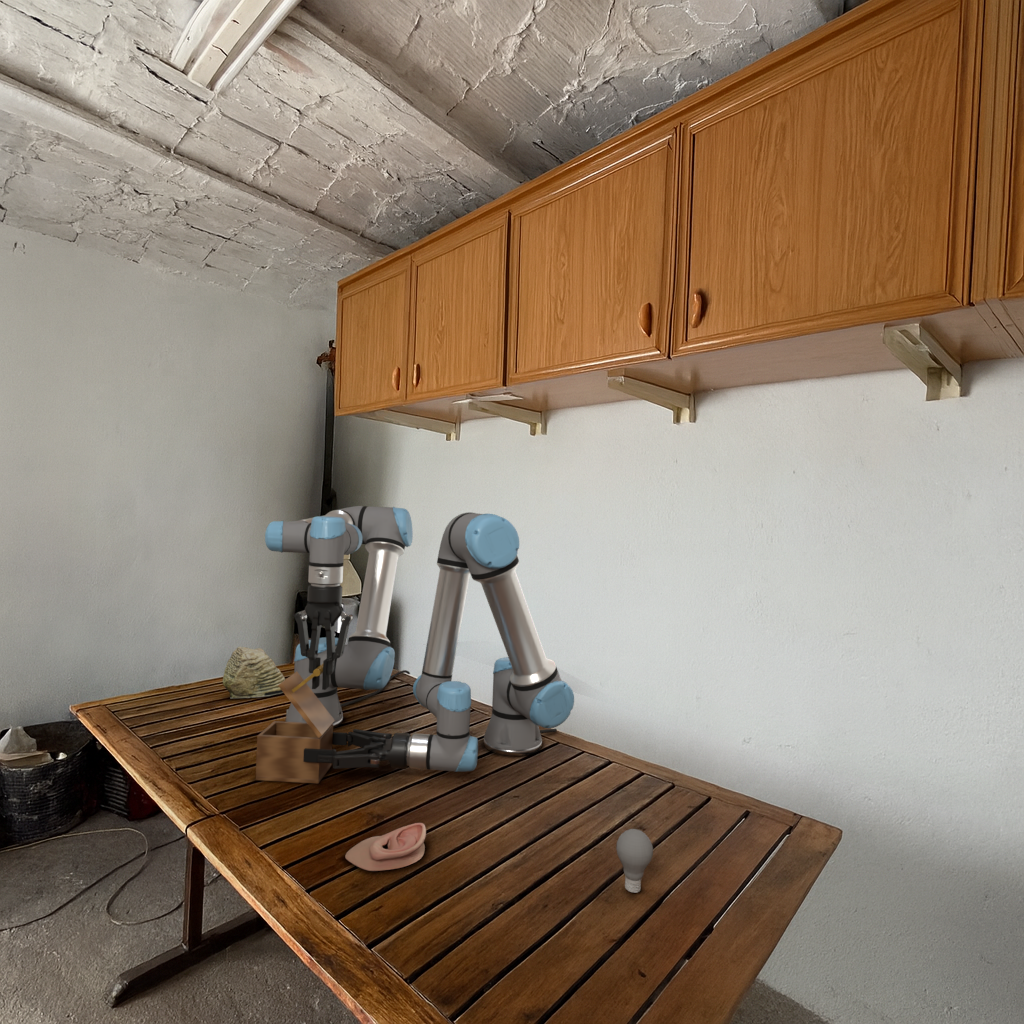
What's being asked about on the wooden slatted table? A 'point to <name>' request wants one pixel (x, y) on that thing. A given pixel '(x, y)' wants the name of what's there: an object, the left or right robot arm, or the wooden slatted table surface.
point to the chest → (290, 753)
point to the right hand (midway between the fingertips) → (312, 746)
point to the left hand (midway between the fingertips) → (320, 687)
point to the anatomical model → (390, 849)
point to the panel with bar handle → (307, 701)
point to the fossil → (251, 674)
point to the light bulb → (634, 857)
